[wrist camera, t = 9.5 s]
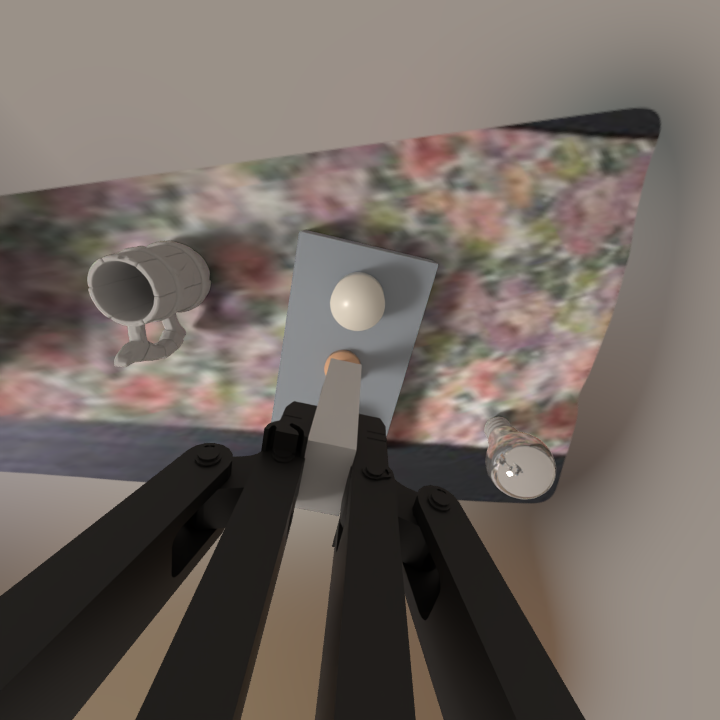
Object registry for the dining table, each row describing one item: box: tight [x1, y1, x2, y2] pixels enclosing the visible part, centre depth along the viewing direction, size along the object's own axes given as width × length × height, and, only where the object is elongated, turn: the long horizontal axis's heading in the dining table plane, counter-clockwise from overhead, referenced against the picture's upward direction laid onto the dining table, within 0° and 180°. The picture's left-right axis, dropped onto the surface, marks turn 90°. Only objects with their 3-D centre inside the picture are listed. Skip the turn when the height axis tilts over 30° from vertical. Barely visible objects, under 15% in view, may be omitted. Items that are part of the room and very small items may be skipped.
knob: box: [330, 272, 385, 331], centre depth 36 cm, size 5×5×7 cm
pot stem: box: [320, 350, 361, 395], centre depth 35 cm, size 4×4×7 cm
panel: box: [271, 230, 439, 436], centre depth 40 cm, size 14×26×4 cm, turn 167°
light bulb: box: [484, 417, 556, 499], centre depth 40 cm, size 7×7×12 cm
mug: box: [87, 241, 211, 367], centre depth 34 cm, size 8×12×12 cm, turn 176°
